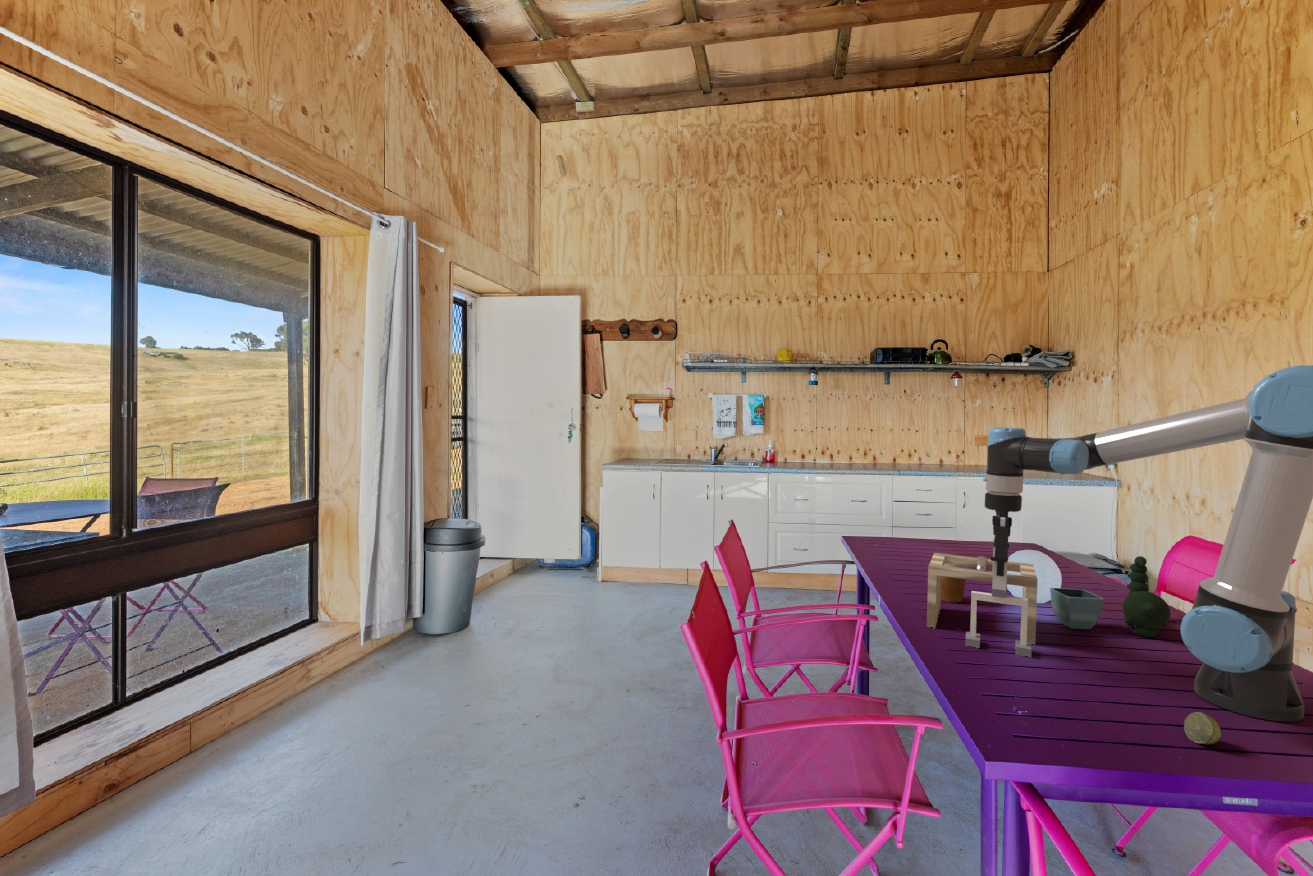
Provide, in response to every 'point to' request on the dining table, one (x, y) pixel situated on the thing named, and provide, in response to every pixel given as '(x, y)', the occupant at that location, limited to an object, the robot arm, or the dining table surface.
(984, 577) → the beige wooden frame
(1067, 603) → the flower pot
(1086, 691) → the dining table surface
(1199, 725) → the lime
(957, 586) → the disposable coffee cup
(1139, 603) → the dark green tiered figure
